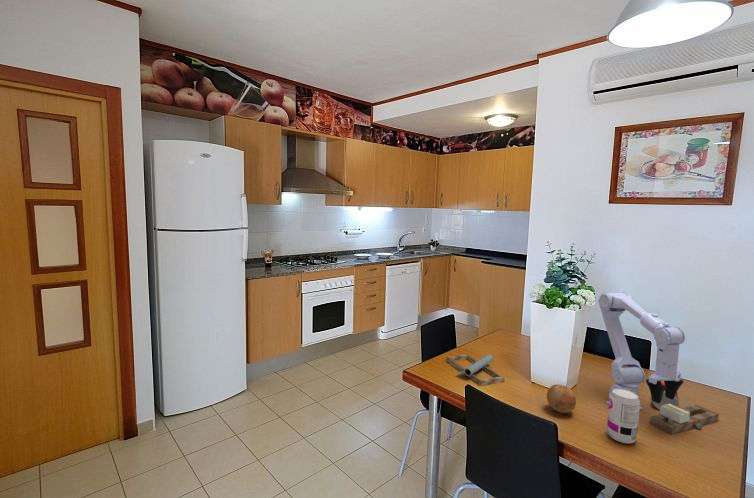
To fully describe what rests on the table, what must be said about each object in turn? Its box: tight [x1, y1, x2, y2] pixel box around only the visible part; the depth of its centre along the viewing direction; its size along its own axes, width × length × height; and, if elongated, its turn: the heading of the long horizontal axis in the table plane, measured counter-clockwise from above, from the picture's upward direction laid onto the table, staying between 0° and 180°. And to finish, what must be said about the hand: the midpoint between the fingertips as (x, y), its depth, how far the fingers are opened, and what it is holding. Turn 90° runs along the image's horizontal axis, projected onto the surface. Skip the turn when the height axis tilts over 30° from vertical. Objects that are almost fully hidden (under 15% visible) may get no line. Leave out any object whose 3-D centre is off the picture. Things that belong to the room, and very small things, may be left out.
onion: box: [546, 383, 577, 414], centre depth 136 cm, size 10×10×10 cm
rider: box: [659, 404, 690, 423], centre depth 129 cm, size 5×6×6 cm
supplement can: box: [606, 389, 641, 445], centre depth 120 cm, size 8×8×15 cm
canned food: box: [651, 381, 680, 411], centre depth 142 cm, size 8×8×11 cm
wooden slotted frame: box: [649, 404, 720, 435], centre depth 131 cm, size 26×10×2 cm, turn 111°
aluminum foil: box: [457, 354, 494, 377], centre depth 169 cm, size 23×7×3 cm, turn 139°
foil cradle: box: [445, 354, 506, 387], centre depth 170 cm, size 12×28×2 cm, turn 21°
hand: (662, 400), depth 126 cm, fingers open, 7 cm apart
